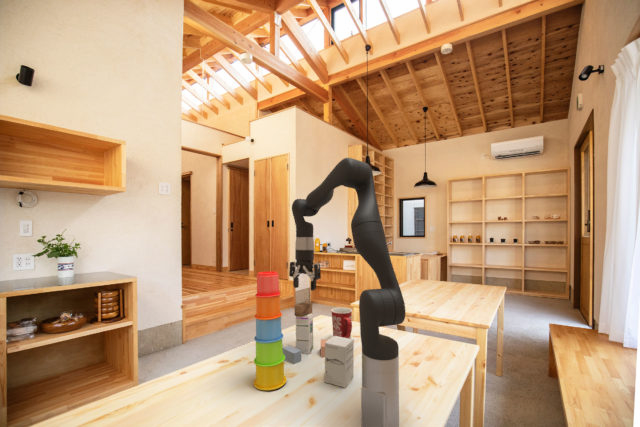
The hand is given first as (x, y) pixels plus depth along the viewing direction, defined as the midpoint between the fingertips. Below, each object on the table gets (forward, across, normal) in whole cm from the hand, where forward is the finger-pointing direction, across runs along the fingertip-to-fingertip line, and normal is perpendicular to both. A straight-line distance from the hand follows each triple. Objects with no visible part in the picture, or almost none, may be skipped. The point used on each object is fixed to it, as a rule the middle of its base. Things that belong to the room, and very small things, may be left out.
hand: (304, 288), depth 117 cm
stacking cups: (+25, +6, -25) cm, 36 cm away
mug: (+24, +9, +15) cm, 30 cm away
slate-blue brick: (+24, +1, -9) cm, 26 cm away
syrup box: (+24, 0, 0) cm, 25 cm away
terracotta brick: (+24, +8, +3) cm, 26 cm away
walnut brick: (+10, 0, -1) cm, 10 cm away
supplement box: (+25, +23, -11) cm, 35 cm away
